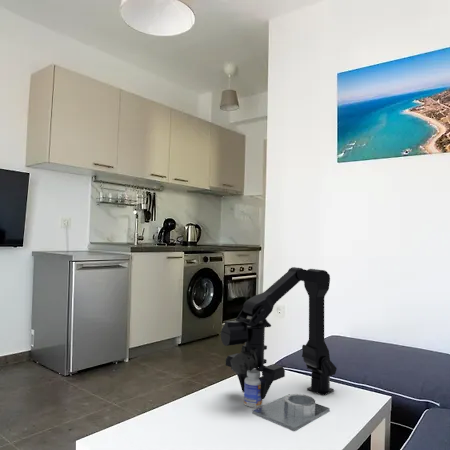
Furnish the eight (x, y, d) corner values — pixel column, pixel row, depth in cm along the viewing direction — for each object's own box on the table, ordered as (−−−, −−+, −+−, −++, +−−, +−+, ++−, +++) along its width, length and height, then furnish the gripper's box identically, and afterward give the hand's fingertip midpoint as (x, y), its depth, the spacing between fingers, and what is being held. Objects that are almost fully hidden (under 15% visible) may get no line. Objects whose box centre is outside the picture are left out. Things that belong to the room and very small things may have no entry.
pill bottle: (261, 408, 114) (261, 374, 114) (242, 406, 115) (243, 373, 115) (263, 401, 119) (263, 369, 120) (245, 399, 120) (246, 367, 121)
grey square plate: (289, 396, 124) (289, 384, 124) (329, 411, 114) (329, 397, 114) (252, 413, 111) (252, 399, 111) (294, 431, 101) (294, 416, 101)
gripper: (213, 340, 119) (212, 393, 118) (262, 354, 106) (260, 413, 105) (238, 335, 127) (237, 384, 126) (286, 347, 114) (285, 402, 113)
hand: (253, 395), depth 117 cm, fingers open, 7 cm apart
